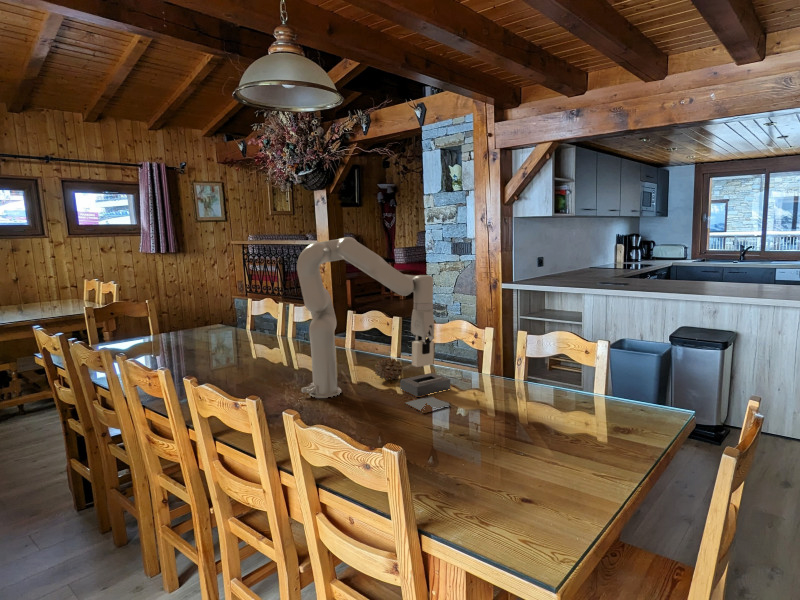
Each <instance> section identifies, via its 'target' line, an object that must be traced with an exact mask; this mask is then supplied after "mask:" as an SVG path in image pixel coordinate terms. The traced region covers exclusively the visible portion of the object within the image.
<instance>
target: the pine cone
mask: <svg viewBox="0 0 800 600" xmlns="http://www.w3.org/2000/svg"><path fill="white" fill-rule="evenodd" d="M374 367H375V368H374V370H375V375H376V377H377V376H378V377H379V378H380V379H381V380H384V381H388V380H390V379H391V380H392V381H394V379H395V380H396V379H397V380H398V378H400V377H402V376H403V371H405V370H408V369H411V368H414V367H415V366H413V365H412V363H411V364H409V365H406V366H404V365H403V364H401V362H400V360H397V359H395V358H391V357H386V358H385V357H384V358H382V359H380V360H377V364H375V365H374ZM391 380H390V381H391Z"/></svg>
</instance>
